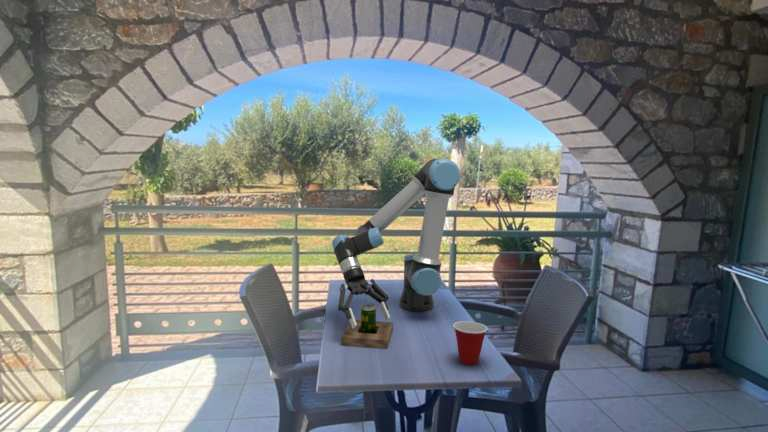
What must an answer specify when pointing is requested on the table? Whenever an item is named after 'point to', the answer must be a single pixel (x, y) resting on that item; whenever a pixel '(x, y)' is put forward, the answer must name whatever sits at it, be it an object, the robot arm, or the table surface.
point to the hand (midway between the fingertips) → (371, 323)
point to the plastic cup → (469, 341)
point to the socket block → (368, 336)
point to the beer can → (368, 318)
